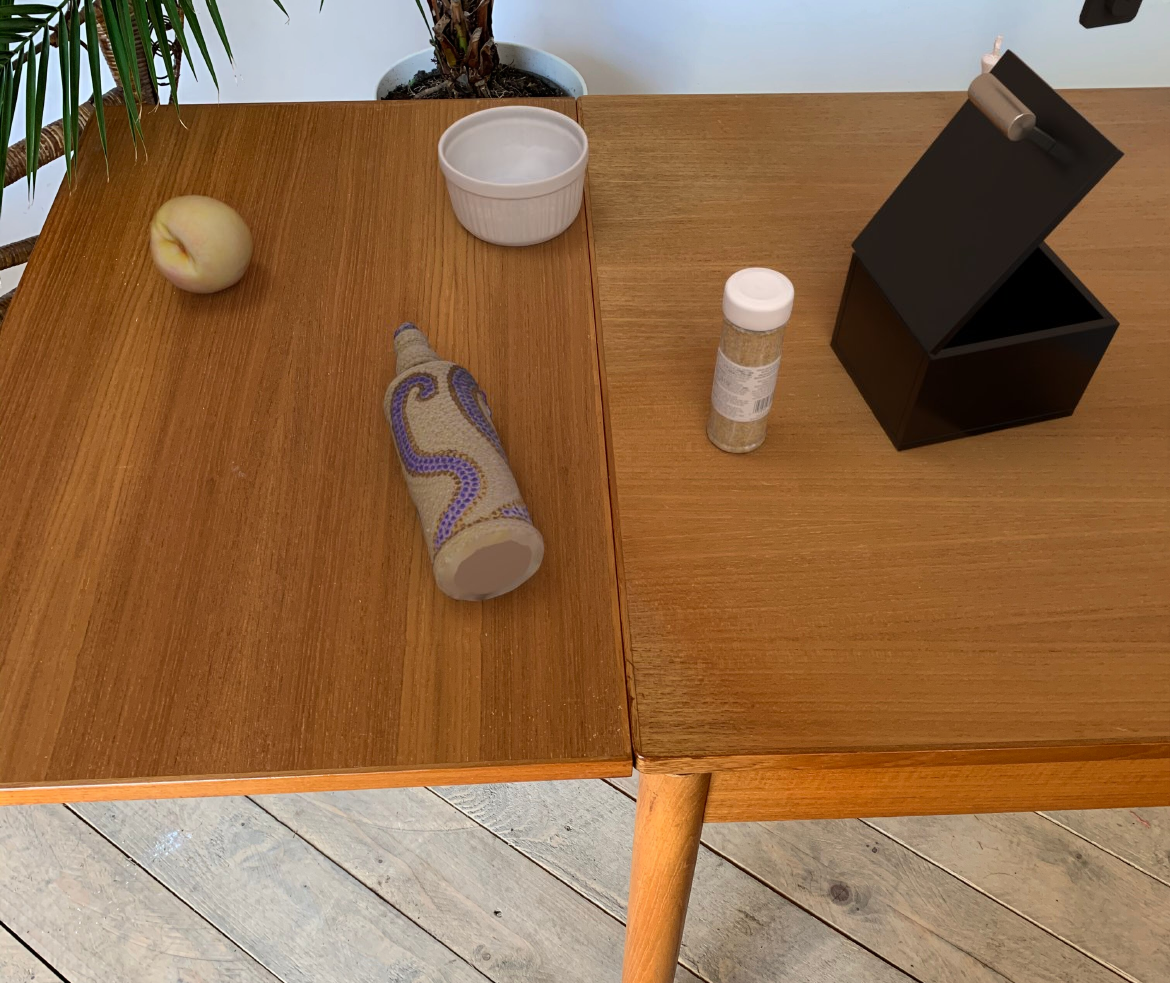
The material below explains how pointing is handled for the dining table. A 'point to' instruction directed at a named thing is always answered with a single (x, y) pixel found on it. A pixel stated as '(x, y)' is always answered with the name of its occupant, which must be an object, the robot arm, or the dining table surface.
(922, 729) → the dining table surface
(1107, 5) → the robot arm
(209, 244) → the fruit
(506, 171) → the ramekin
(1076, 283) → the bin
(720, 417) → the spice jar
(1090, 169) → the bin lid
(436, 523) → the decorative bottle
